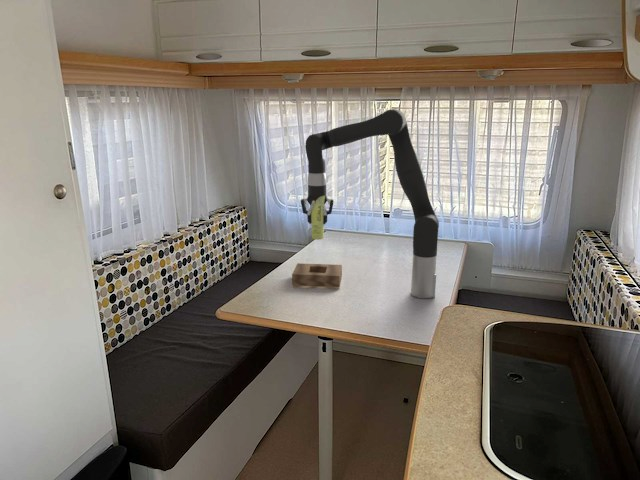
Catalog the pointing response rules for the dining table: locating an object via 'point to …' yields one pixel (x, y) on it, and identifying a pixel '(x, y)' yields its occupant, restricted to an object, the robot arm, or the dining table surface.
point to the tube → (318, 219)
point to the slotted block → (317, 276)
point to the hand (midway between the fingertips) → (317, 223)
